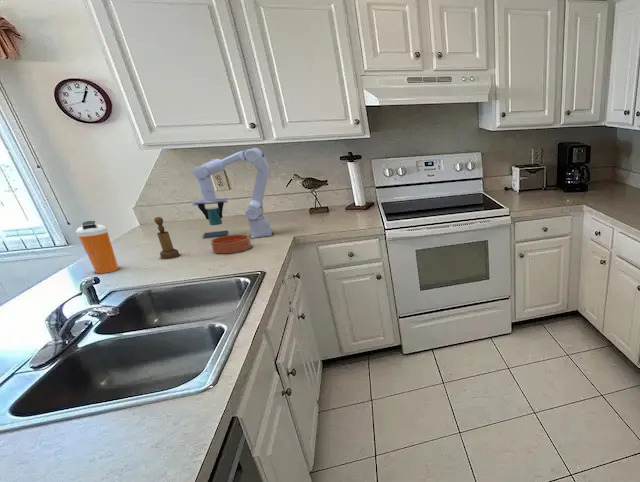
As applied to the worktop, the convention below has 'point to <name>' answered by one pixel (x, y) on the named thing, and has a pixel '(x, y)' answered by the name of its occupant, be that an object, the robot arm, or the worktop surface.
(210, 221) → the teal cup
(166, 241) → the wooden pepper mill
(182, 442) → the worktop surface
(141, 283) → the worktop surface
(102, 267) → the shaker bottle
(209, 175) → the robot arm
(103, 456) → the worktop surface
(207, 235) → the slate coaster
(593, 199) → the worktop surface
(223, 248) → the terracotta bowl
